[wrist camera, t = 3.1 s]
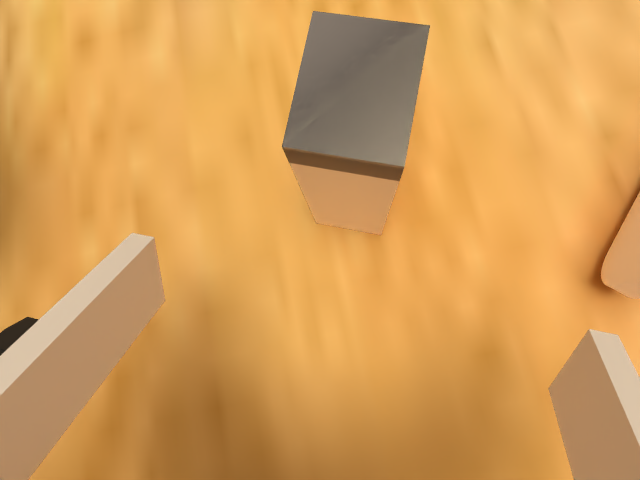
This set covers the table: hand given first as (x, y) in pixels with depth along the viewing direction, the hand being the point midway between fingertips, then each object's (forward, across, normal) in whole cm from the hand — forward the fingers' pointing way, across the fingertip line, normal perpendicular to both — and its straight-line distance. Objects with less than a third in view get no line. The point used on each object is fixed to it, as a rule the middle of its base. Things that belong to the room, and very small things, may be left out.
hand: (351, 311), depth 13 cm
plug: (+13, -1, -3) cm, 14 cm away
